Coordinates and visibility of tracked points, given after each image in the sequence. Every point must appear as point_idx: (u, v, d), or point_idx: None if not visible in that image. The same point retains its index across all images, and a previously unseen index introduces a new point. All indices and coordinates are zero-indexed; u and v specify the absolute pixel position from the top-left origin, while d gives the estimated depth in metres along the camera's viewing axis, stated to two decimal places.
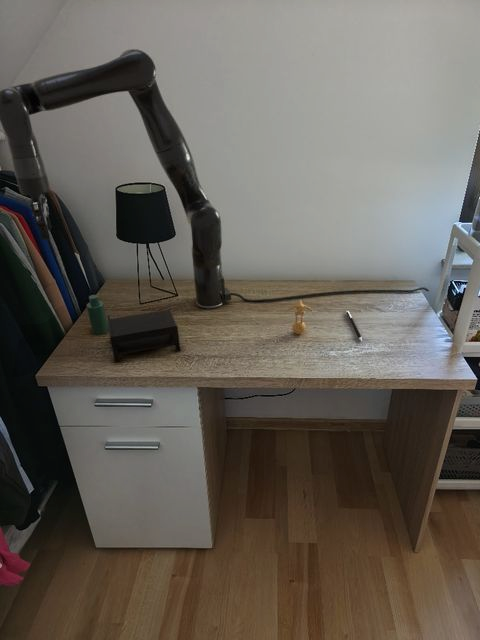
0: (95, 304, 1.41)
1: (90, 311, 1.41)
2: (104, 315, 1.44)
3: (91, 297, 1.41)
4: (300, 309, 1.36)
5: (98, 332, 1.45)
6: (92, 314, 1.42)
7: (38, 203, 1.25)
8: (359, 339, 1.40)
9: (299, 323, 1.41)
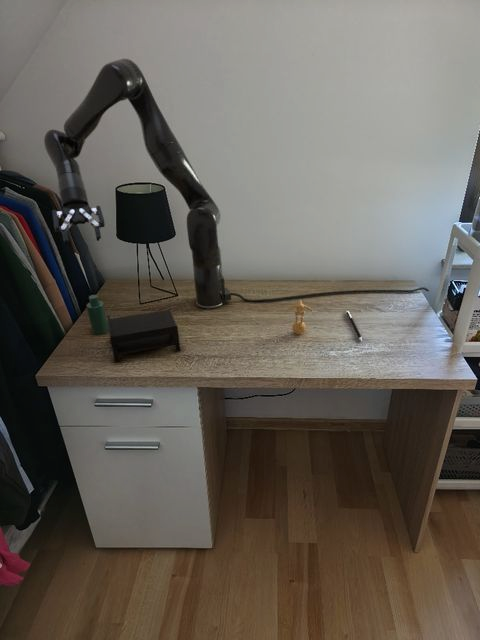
0: (95, 304, 1.41)
1: (90, 311, 1.41)
2: (104, 315, 1.44)
3: (91, 297, 1.41)
4: (300, 309, 1.36)
5: (98, 332, 1.45)
6: (92, 314, 1.42)
7: None
8: (359, 339, 1.40)
9: (299, 323, 1.41)
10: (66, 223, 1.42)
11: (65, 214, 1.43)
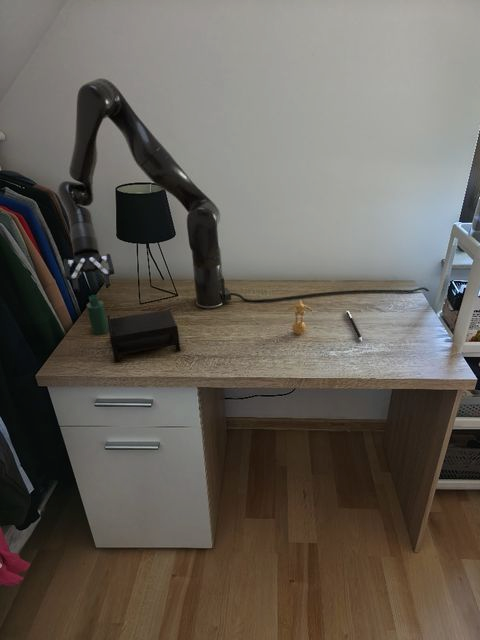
0: (95, 304, 1.41)
1: (90, 311, 1.41)
2: (104, 315, 1.44)
3: (91, 297, 1.41)
4: (300, 309, 1.36)
5: (98, 332, 1.45)
6: (92, 314, 1.42)
7: None
8: (359, 339, 1.40)
9: (299, 323, 1.41)
10: (76, 272, 1.45)
11: (76, 263, 1.46)
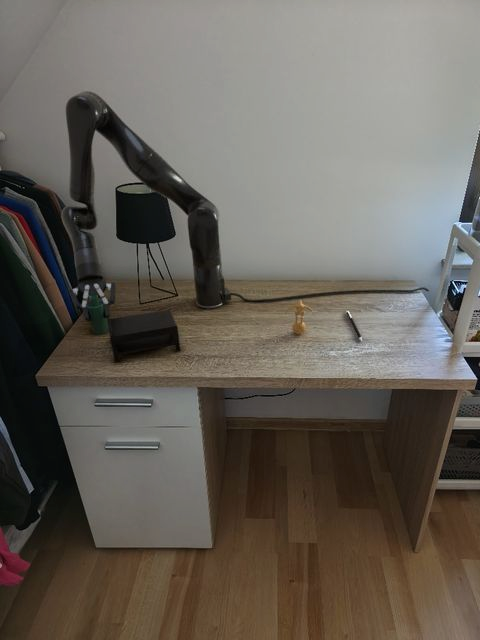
0: (95, 304, 1.41)
1: (90, 311, 1.41)
2: (104, 315, 1.44)
3: (91, 297, 1.41)
4: (300, 309, 1.36)
5: (98, 332, 1.45)
6: (92, 314, 1.42)
7: None
8: (359, 339, 1.40)
9: (299, 323, 1.41)
10: (85, 300, 1.42)
11: (80, 289, 1.43)
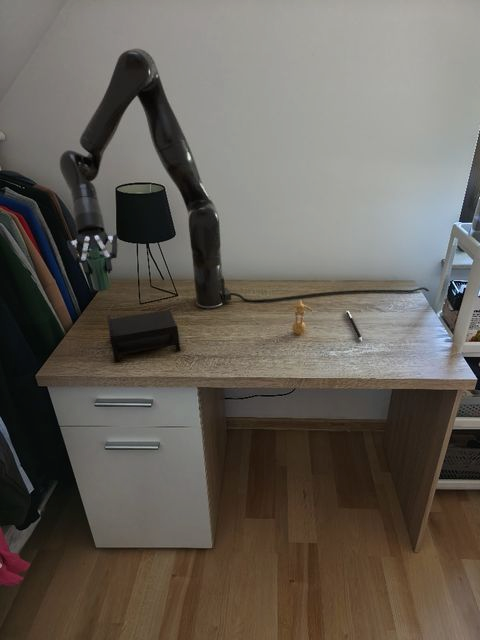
0: (95, 257, 1.30)
1: (91, 264, 1.30)
2: (105, 269, 1.33)
3: (91, 249, 1.30)
4: (300, 309, 1.36)
5: (99, 288, 1.34)
6: (92, 267, 1.31)
7: None
8: (359, 339, 1.40)
9: (299, 323, 1.41)
10: (85, 253, 1.31)
11: (79, 242, 1.32)
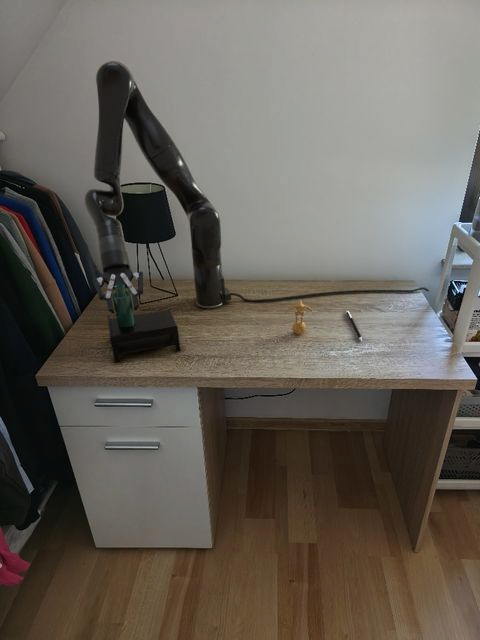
0: (121, 294, 1.30)
1: (117, 301, 1.30)
2: (131, 306, 1.33)
3: (117, 287, 1.30)
4: (300, 309, 1.36)
5: (124, 325, 1.34)
6: (118, 305, 1.31)
7: None
8: (359, 339, 1.40)
9: (299, 323, 1.41)
10: (110, 290, 1.32)
11: (105, 279, 1.32)
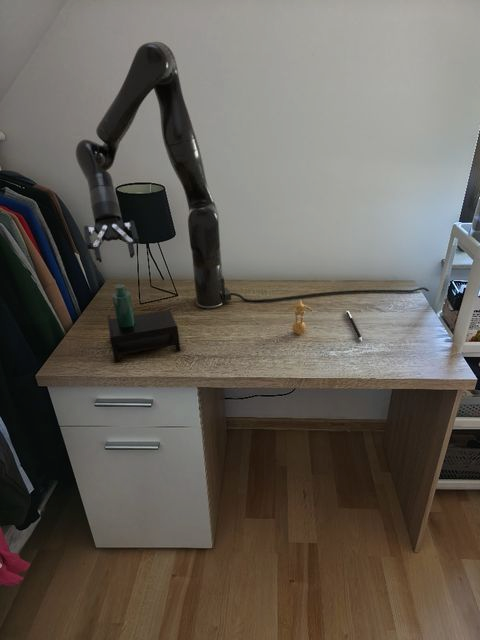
0: (122, 294, 1.30)
1: (117, 301, 1.30)
2: (131, 306, 1.33)
3: (117, 287, 1.30)
4: (300, 309, 1.36)
5: (124, 325, 1.34)
6: (118, 305, 1.31)
7: None
8: (359, 339, 1.40)
9: (299, 323, 1.41)
10: (98, 240, 1.33)
11: (97, 230, 1.34)
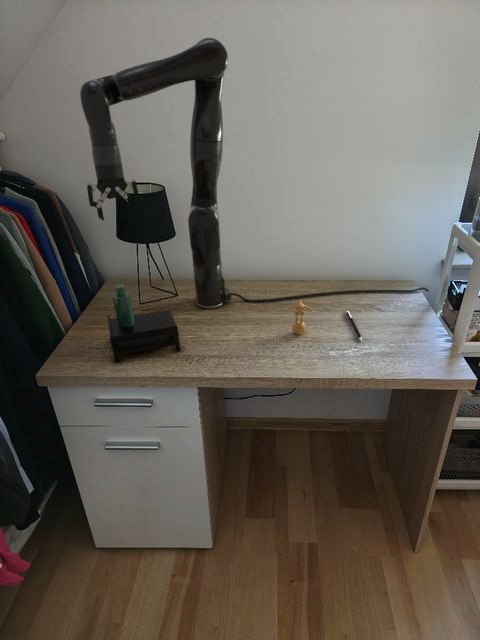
0: (122, 294, 1.30)
1: (117, 301, 1.30)
2: (131, 306, 1.33)
3: (117, 287, 1.30)
4: (300, 309, 1.36)
5: (124, 325, 1.34)
6: (118, 305, 1.31)
7: (87, 186, 1.36)
8: (359, 339, 1.40)
9: (299, 323, 1.41)
10: (101, 201, 1.39)
11: (100, 190, 1.38)
